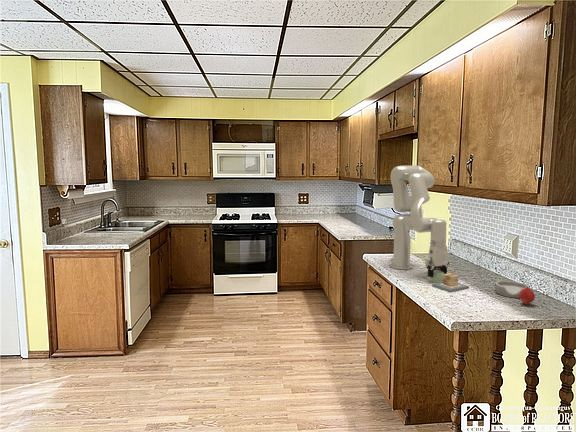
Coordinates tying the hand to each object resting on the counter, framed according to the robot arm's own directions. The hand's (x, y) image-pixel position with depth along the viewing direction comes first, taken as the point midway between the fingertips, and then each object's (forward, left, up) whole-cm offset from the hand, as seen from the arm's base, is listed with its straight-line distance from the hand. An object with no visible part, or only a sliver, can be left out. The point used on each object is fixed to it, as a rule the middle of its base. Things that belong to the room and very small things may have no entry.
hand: (437, 275), depth 207 cm
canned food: (-11, +10, -3) cm, 15 cm away
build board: (+11, -3, -3) cm, 12 cm away
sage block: (-1, 0, -3) cm, 3 cm away
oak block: (+11, -3, -2) cm, 11 cm away
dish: (+31, +14, -3) cm, 35 cm away
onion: (+43, +6, -3) cm, 44 cm away
